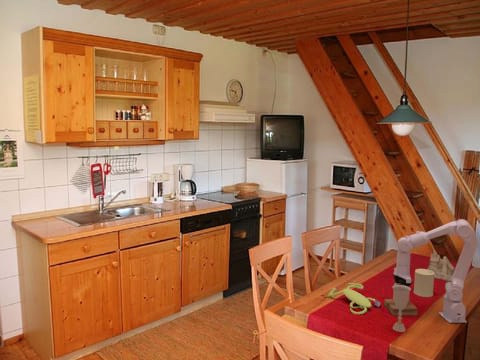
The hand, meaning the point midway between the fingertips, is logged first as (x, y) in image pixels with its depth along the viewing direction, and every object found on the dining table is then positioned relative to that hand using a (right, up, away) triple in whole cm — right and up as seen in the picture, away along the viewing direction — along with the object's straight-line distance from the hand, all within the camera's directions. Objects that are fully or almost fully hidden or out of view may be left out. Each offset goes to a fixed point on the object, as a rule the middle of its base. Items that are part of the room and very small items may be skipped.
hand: (401, 292), depth 196 cm
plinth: (0, -8, +1) cm, 8 cm away
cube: (0, -2, 0) cm, 2 cm away
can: (+19, -6, +20) cm, 28 cm away
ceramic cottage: (+41, -3, +48) cm, 63 cm away
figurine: (-19, -8, +10) cm, 23 cm away
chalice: (-8, -11, -17) cm, 22 cm away
